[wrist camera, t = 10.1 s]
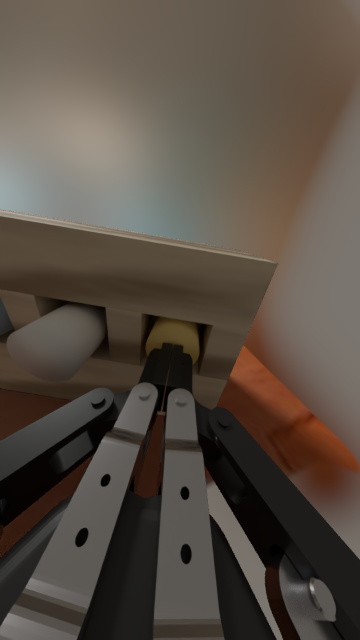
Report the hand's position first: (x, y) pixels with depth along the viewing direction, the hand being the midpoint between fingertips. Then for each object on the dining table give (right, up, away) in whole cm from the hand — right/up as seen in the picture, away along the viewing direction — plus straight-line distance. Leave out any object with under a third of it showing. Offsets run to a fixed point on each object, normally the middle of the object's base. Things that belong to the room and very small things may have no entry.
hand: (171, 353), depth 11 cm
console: (-8, -4, +9) cm, 13 cm away
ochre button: (0, 0, +3) cm, 3 cm away
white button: (-8, 0, +1) cm, 8 cm away
